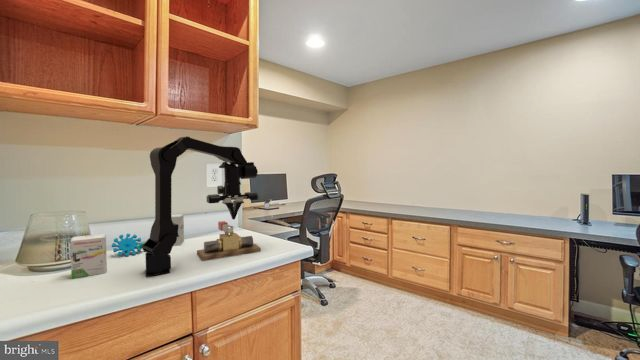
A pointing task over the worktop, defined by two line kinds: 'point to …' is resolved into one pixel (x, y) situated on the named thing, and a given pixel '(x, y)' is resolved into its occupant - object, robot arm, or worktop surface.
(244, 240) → the valve pipe
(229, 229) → the valve lever
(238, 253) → the mount board
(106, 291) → the worktop surface
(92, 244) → the white pink medicine box
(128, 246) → the blue spiky virus toy
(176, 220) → the supplement box
